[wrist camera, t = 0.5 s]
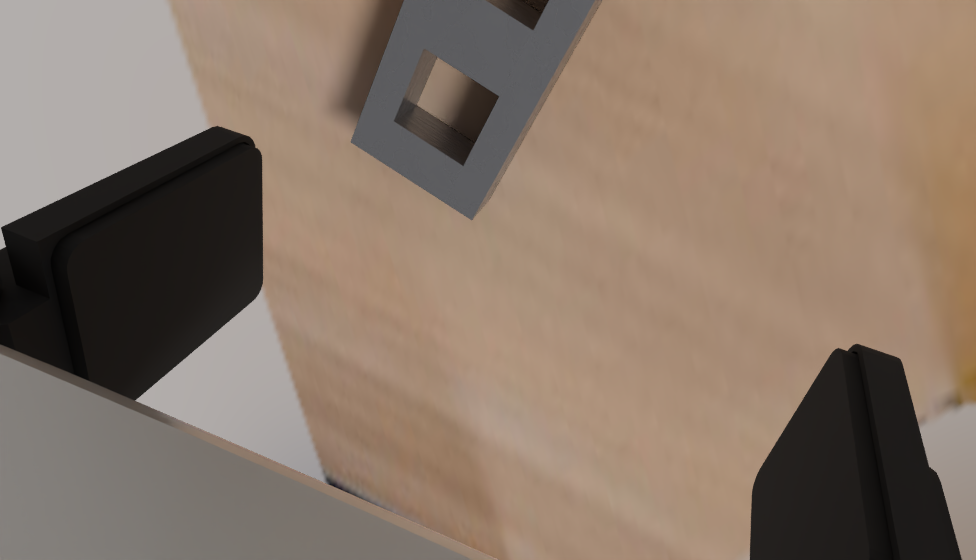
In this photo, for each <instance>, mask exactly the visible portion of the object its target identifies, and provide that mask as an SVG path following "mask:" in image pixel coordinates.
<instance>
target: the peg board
mask: <svg viewBox="0 0 976 560" xmlns="http://www.w3.org/2000/svg"><path fill="white" fill-rule="evenodd" d="M601 2H602V0H549V1H548V3H547V5H546V7H545V9H544V11H543V13H540V12H539V11H537V10H536V9H534V8H533V7H531V6H529V5H528V4H526V3H525V2H523V1H522V0H404V2H403V4H402V7H401V10H400V12H399V15H398V17H397V20H396V23H395V25H394V28H393V31H392V33H391V36H390V39H389V41H388V44H387V47H386V49H385V52H384V55H383V57H382V60H381V63H380V65H379V68H378V71H377V73H376V76H375V79H374V81H373V84H372V86H371V89H370V92H369V94H368V97H367V100H366V102H365V105H364V108H363V110H362V113H361V116H360V118H359V121H358V124H357V126H356V129H355V132H354V134H353V137H352V140H351V143H353V144H354V145H356V146H358V147H359V148H361V149H362V150H364V151H365V152H367V153H368V154H370V155H371V156H373V157H375V158H376V159H378V160H379V161H381V162H382V163H384V164H385V165H387V166H389V167H390V168H392V169H393V170H395V171H396V172H398V173H399V174H401V175H402V176H404V177H406V178H407V179H409V180H410V181H412V182H413V183H415V184H416V185H418V186H419V187H421V188H423V189H424V190H426V191H427V192H429V193H430V194H432V195H433V196H435V197H437V198H438V199H440V200H441V201H443V202H444V203H446V204H447V205H449V206H450V207H452V208H454V209H455V210H457V211H458V212H460V213H461V214H463V215H464V216H466V217H468V218H469V219H471V220H473V218H474V217H475V216H476V215H477V214H478V213H479V211H480V210H481V209H482V208H483V207H484V205H485V204H486V203H487V202H488V201H489V199H490V198H491V196H492V194H493V192H494V190H495V189H496V187H497V185H498V183H499V182H500V180H501V178H502V176H503V175H504V173H505V171H506V169H507V168H508V166H509V164H510V162H511V161H512V159H513V157H514V155H515V153H516V152H517V150H518V148H519V146H520V145H521V143H522V141H523V139H524V138H525V136H526V134H527V132H528V131H529V129H530V127H531V125H532V123H533V122H534V120H535V118H536V116H537V115H538V113H539V111H540V109H541V108H542V106H543V104H544V102H545V101H546V99H547V97H548V95H549V94H550V92H551V90H552V88H553V86H554V85H555V83H556V81H557V79H558V78H559V76H560V74H561V72H562V71H563V69H564V67H565V65H566V64H567V62H568V60H569V58H570V56H571V55H572V53H573V51H574V49H575V48H576V46H577V44H578V42H579V41H580V39H581V37H582V35H583V34H584V32H585V30H586V28H587V27H588V25H589V23H590V21H591V19H592V18H593V16H594V14H595V12H596V11H597V9H598V7H599V5H600V4H601ZM437 57H438V58H440V59H442V60H443V61H445V62H446V63H448V64H449V65H451V66H452V67H454V68H456V69H457V70H459V71H460V72H462V73H463V74H465V75H467V76H468V77H470V78H471V79H473V80H474V81H476V82H477V83H479V84H481V85H482V86H484V87H485V88H487V89H488V90H490V91H492V92H493V93H495V94H496V95H498V96H499V98H498V100H497V102H496V104H495V106H494V108H493V110H492V112H491V114H490V115H489V117H488V119H487V121H486V123H485V125H484V127H483V129H482V131H481V133H480V135H479V137H478V139H477V141H476V143H474V142H472V141H471V140H469V139H468V138H466V137H465V136H463V135H461V134H460V133H458V132H457V131H455V130H454V129H452V128H451V127H449V126H447V125H446V124H444V123H443V122H441V121H440V120H438V119H437V118H435V117H433V116H432V115H430V114H429V113H427V112H426V111H424V110H423V109H421V108H419V107H418V106H416V105H417V103H418V100H419V98H420V96H421V93H422V91H423V89H424V86H425V84H426V82H427V79H428V77H429V75H430V72H431V70H432V68H433V66H434V63H435V61H436V59H437Z"/></svg>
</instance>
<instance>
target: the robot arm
mask: <svg viewBox="0 0 976 560" xmlns="http://www.w3.org/2000/svg"><path fill="white" fill-rule="evenodd" d="M1 229H2V233H3V237H4V240H5V245H6V247H5V248H3V249H1V250H0V560H498V559H496V558H494V557H492V556H489V555H487V554H485V553H483V552H480V551H478V550H476V549H474V548H471V547H469V546H467V545H465V544H462V543H460V542H458V541H456V540H453V539H451V538H449V537H447V536H444V535H442V534H440V533H438V532H435V531H433V530H431V529H429V528H426V527H424V526H422V525H419V524H417V523H415V522H413V521H410V520H408V519H406V518H403V517H401V516H399V515H397V514H394V513H392V512H390V511H387V510H385V509H383V508H381V507H378V506H376V505H374V504H371V503H369V502H367V501H365V500H362V499H360V498H358V497H355V496H353V495H351V494H349V493H346V492H344V491H342V490H339V489H337V488H335V487H333V486H330V485H328V484H326V483H323V482H321V481H319V480H316V479H314V478H312V477H310V476H307V475H305V474H303V473H301V472H298V471H296V470H294V469H291V468H289V467H287V466H284V465H282V464H280V463H278V462H275V461H273V460H271V459H268V458H266V457H264V456H261V455H259V454H257V453H254V452H252V451H250V450H248V449H245V448H243V447H241V446H239V445H236V444H234V443H232V442H229V441H227V440H225V439H222V438H220V437H218V436H216V435H213V434H211V433H209V432H206V431H204V430H202V429H199V428H197V427H195V426H192V425H190V424H188V423H185V422H183V421H181V420H178V419H176V418H174V417H171V416H169V415H167V414H164V413H162V412H160V411H157V410H155V409H152V408H150V407H148V406H146V405H143V404H141V403H139V402H136V401H135V400H136V399H137V398H139V397H140V396H141V395H142V394H143V393H144V392H146V391H147V390H148V389H149V388H150V387H152V386H153V385H154V384H155V383H156V382H158V381H159V380H160V379H161V378H162V377H164V376H165V375H166V374H167V373H168V372H169V371H171V370H172V369H173V368H174V367H175V366H177V365H178V364H179V363H180V362H181V361H182V360H183V359H185V358H186V357H187V356H188V355H189V354H190V353H192V352H193V351H194V350H195V349H197V348H198V347H199V346H200V345H201V344H203V343H204V342H205V341H206V340H207V339H208V338H210V337H211V336H212V335H213V334H214V333H216V332H217V331H218V330H219V329H220V328H221V327H223V326H224V325H225V324H226V323H227V322H229V321H230V320H231V319H232V318H233V317H234V316H236V315H237V314H238V313H239V312H240V311H241V310H243V309H244V308H245V307H246V306H247V305H248V304H250V303H251V302H252V301H253V300H254V299H255V298H256V297H257V295H258V294H259V292H260V290H261V287H262V284H263V213H262V155H261V152H260V151H259V150H258V149H257V148H255V144H254V142H253V140H252V139H251V138H250V137H249V136H246V135H243V134H240V133H237V132H234V131H231V130H228V129H225V128H223V127H219V126H216V127H212V128H210V129H208V130H206V131H203V132H201V133H199V134H197V135H195V136H193V137H191V138H189V139H187V140H184V141H182V142H180V143H178V144H176V145H174V146H172V147H170V148H168V149H165V150H163V151H161V152H159V153H157V154H155V155H153V156H151V157H149V158H147V159H145V160H142V161H140V162H138V163H136V164H134V165H132V166H130V167H127V168H125V169H123V170H121V171H119V172H117V173H115V174H113V175H111V176H109V177H107V178H105V179H102V180H100V181H98V182H96V183H94V184H92V185H90V186H88V187H85V188H83V189H81V190H79V191H77V192H75V193H73V194H71V195H68V196H67V197H64V198H62V199H60V200H58V201H56V202H54V203H52V204H49V205H47V206H46V207H43V208H41V209H39V210H37V211H35V212H33V213H31V214H28V215H27V216H24V217H22V218H20V219H18V220H16V221H14V222H12V223H10V224H8V225H5V226H3V227H1ZM750 560H962V559H961V555H960V551H959V548H958V544H957V540H956V537H955V533H954V529H953V526H952V522H951V518H950V514H949V511H948V507H947V503H946V500H945V496H944V492H943V489H942V485H941V482H940V479H939V477H938V475H937V473H936V472H935V471H934V470H933V469H931V468H930V467H929V465H928V461H927V457H926V454H925V449H924V446H923V442H922V438H921V434H920V430H919V426H918V422H917V418H916V414H915V411H914V407H913V403H912V399H911V395H910V391H909V387H908V384H907V380H906V376H905V372H904V368H903V364H902V362H901V360H900V359H899V358H897V357H895V356H892V355H889V354H886V353H883V352H880V351H877V350H874V349H871V348H868V347H865V346H862V345H859V344H855V345H853V346H852V347H851V348H850V349H849V350H848V351H845V350H843V349H840V348H838V349H835V350H834V351H833V352H832V354H831V355H830V357H829V358H828V360H827V361H826V363H825V365H824V366H823V368H822V370H821V371H820V373H819V374H818V376H817V378H816V379H815V381H814V382H813V384H812V386H811V387H810V389H809V391H808V392H807V394H806V395H805V397H804V399H803V400H802V402H801V404H800V405H799V407H798V408H797V410H796V412H795V413H794V415H793V416H792V418H791V420H790V421H789V423H788V425H787V426H786V428H785V429H784V431H783V433H782V434H781V436H780V438H779V439H778V441H777V442H776V444H775V446H774V447H773V449H772V450H771V452H770V454H769V455H768V457H767V459H766V460H765V462H764V463H763V465H762V467H761V468H760V470H759V472H758V474H757V476H756V479H755V482H754V486H753V490H752V509H751V539H750Z"/></svg>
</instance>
